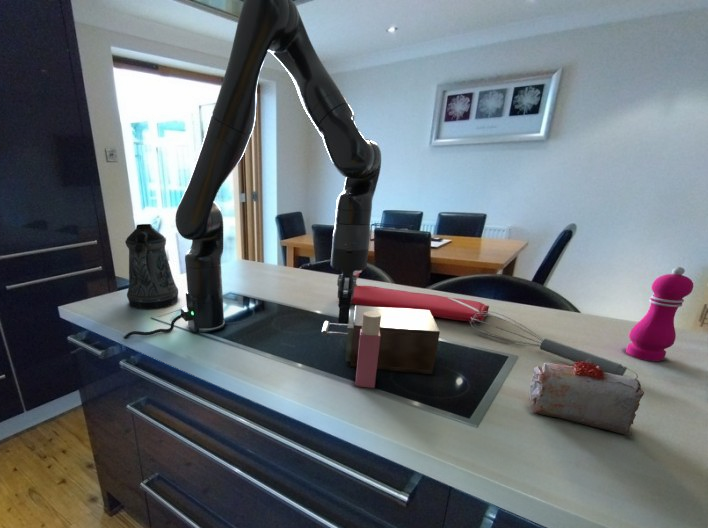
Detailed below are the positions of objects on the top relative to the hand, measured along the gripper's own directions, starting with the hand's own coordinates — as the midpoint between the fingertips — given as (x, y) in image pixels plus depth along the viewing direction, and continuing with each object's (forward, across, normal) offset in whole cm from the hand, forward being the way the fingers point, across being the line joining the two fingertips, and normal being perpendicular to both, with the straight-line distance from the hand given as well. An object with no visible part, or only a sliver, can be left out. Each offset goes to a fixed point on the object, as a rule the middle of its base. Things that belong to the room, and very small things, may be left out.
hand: (343, 322), depth 88 cm
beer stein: (+9, -26, -62) cm, 68 cm away
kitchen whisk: (+7, -11, +44) cm, 46 cm away
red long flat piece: (+8, -38, +19) cm, 44 cm away
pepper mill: (+7, -14, +66) cm, 68 cm away
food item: (+7, +17, +40) cm, 44 cm away
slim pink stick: (+7, +14, +6) cm, 17 cm away
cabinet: (+7, 0, +11) cm, 13 cm away
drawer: (+6, 0, +6) cm, 9 cm away
